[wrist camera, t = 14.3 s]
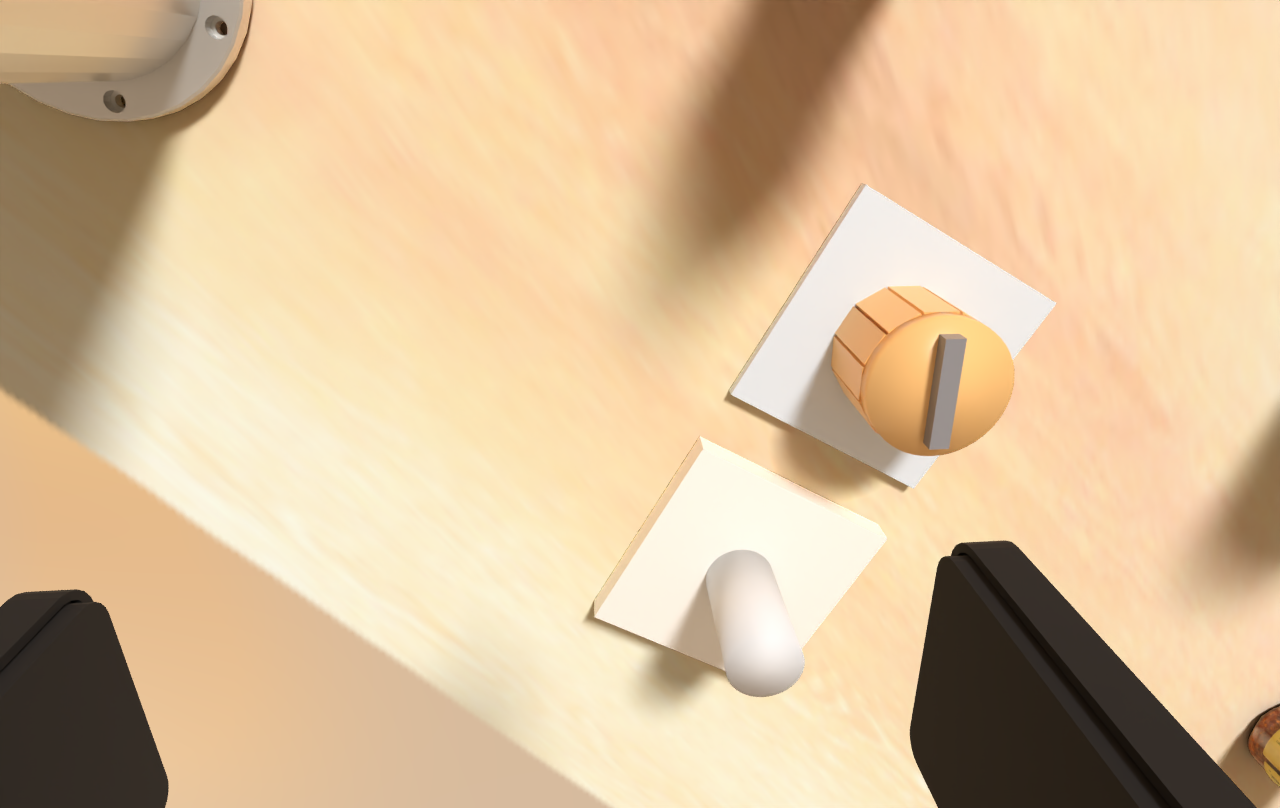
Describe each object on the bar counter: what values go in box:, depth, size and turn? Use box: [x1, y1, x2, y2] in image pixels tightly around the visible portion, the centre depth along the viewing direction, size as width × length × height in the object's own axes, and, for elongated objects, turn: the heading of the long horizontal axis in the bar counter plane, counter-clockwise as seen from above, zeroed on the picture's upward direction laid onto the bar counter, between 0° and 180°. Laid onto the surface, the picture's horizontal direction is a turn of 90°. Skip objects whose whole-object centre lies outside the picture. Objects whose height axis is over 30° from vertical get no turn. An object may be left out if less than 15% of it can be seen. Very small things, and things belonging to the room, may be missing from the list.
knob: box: [831, 286, 1014, 456], centre depth 36 cm, size 7×7×6 cm
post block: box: [594, 436, 887, 697], centre depth 41 cm, size 12×12×8 cm
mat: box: [729, 183, 1056, 489], centre depth 40 cm, size 12×12×1 cm
